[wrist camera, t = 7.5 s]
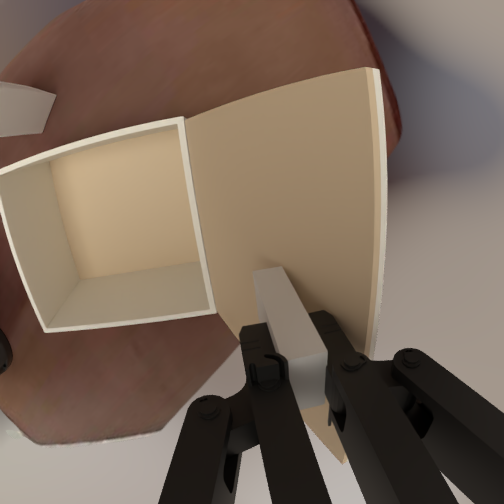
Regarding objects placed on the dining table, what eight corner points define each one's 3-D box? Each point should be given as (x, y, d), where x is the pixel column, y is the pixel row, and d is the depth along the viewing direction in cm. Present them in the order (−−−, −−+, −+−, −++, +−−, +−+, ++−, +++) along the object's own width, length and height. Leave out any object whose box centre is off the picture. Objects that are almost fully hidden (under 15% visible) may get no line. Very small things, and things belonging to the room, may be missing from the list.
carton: (79, 282, 43) (44, 332, 31) (47, 158, 36) (-9, 172, 23) (213, 261, 45) (216, 313, 32) (191, 122, 38) (183, 116, 25)
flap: (342, 464, 14) (350, 459, 15) (365, 67, 7) (379, 69, 7) (216, 311, 32) (222, 309, 32) (184, 120, 25) (191, 119, 25)
